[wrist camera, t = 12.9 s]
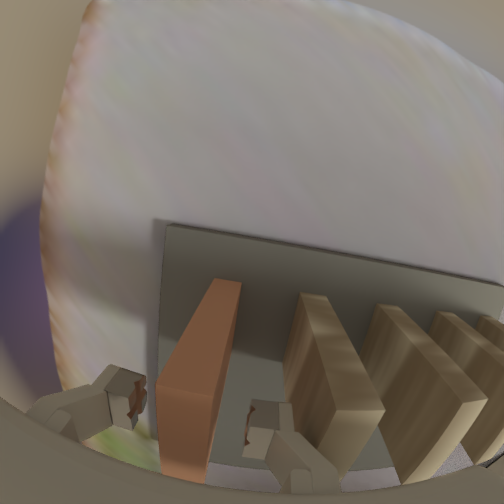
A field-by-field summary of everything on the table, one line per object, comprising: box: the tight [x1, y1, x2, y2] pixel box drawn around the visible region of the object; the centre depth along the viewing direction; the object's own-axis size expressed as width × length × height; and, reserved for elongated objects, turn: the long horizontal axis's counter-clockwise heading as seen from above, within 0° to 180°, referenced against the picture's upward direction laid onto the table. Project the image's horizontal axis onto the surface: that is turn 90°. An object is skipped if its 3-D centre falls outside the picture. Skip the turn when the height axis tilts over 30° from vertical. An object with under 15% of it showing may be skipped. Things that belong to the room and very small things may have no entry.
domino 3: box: [428, 311, 504, 465], centre depth 12 cm, size 2×5×10 cm, turn 170°
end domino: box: [155, 278, 242, 484], centre depth 12 cm, size 2×5×10 cm, turn 171°
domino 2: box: [359, 303, 488, 485], centre depth 12 cm, size 2×5×10 cm, turn 170°
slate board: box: [158, 224, 504, 471], centre depth 19 cm, size 26×20×1 cm
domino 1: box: [282, 292, 386, 481], centre depth 12 cm, size 2×5×10 cm, turn 171°
